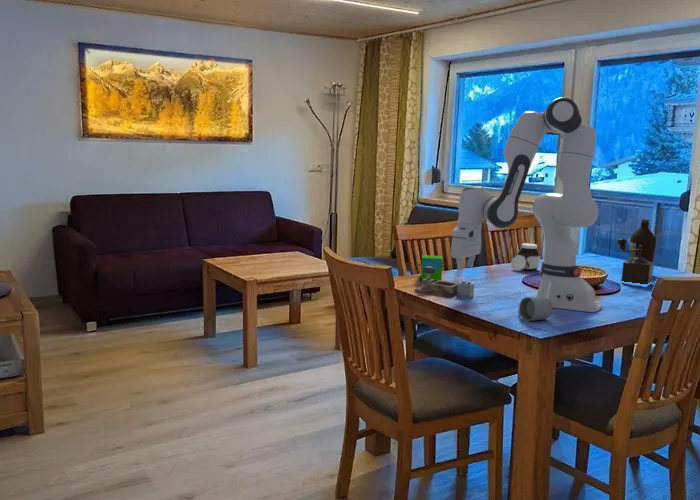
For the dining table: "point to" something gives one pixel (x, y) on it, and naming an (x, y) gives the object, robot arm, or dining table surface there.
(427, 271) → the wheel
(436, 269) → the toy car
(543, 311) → the ceramic mug
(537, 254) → the spread jar
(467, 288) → the engine block
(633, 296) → the dining table surface
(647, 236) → the olive oil
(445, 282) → the chassis
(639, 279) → the manual coffee grinder
